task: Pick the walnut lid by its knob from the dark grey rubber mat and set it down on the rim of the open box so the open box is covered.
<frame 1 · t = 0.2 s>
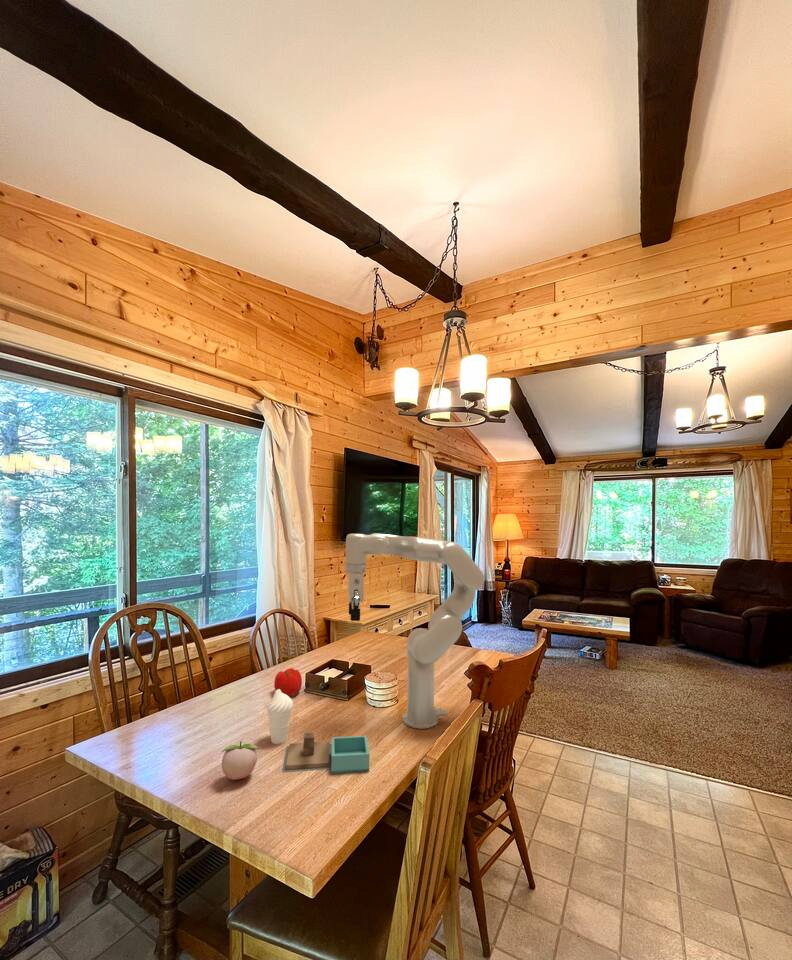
hand: (354, 617, 153), 36 cm above the table, tool pointing down, fingers open, 9 cm apart
decorative fruit: (238, 781, 117), on the table
lid: (308, 757, 129), resting on mat
open box: (349, 763, 127), on the table
tomato: (287, 694, 176), on the table
soft serve ice cream cone: (278, 742, 138), on the table
mat: (308, 758, 129), on the table
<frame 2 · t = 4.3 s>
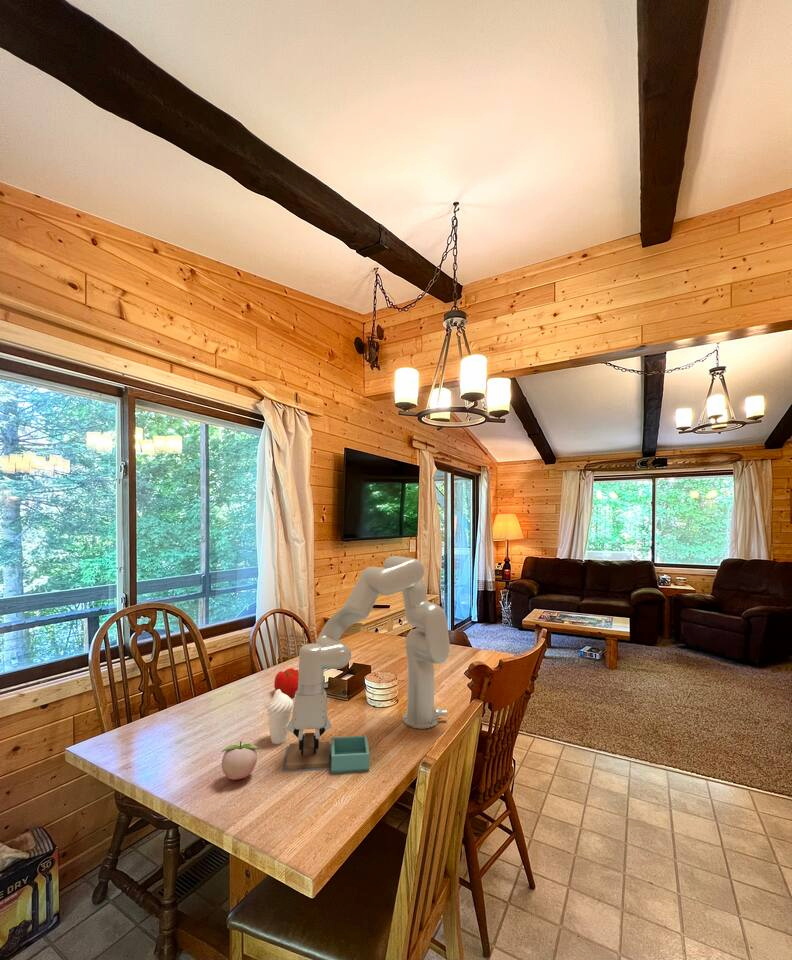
hand: (308, 751, 129), 2 cm above the table, tool pointing down, fingers closed on lid, 3 cm apart
lid: (308, 757, 129), resting on mat, touching gripper
everything else where it was.
when the fingers open (8 cm above the table, at t = 8.5 s): lid drops 2 cm, resting on open box.
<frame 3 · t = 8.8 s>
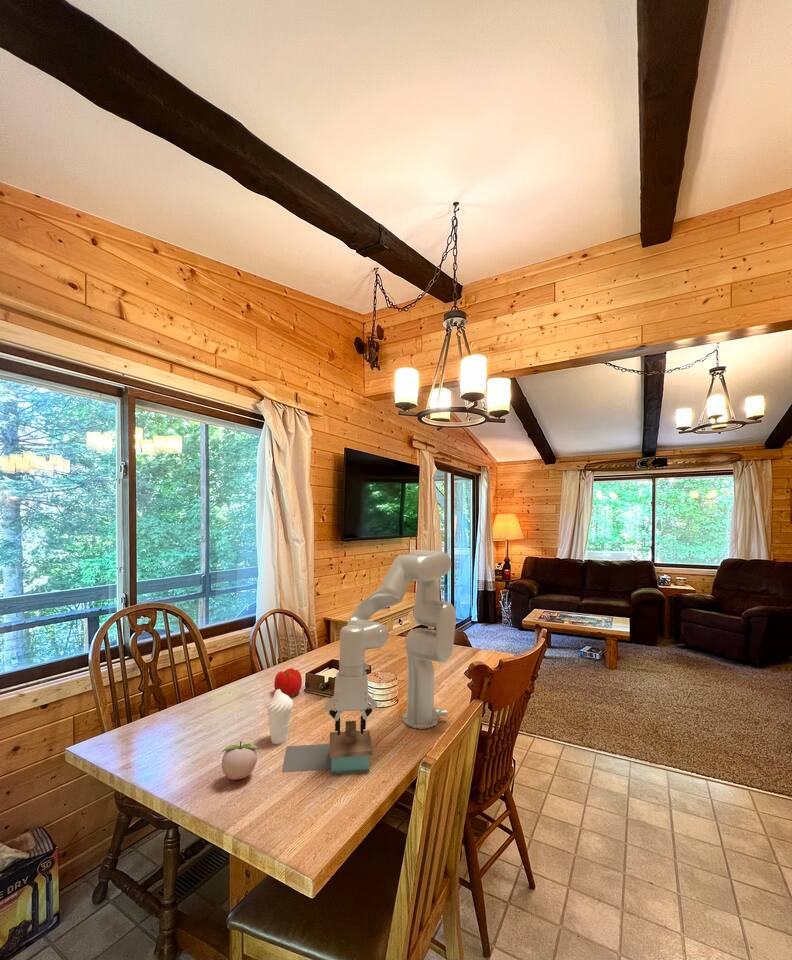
hand: (350, 731, 127), 9 cm above the table, tool pointing down, fingers open, 6 cm apart
lid: (350, 745, 127), point 5 cm above the table, touching open box
everything else where it was.
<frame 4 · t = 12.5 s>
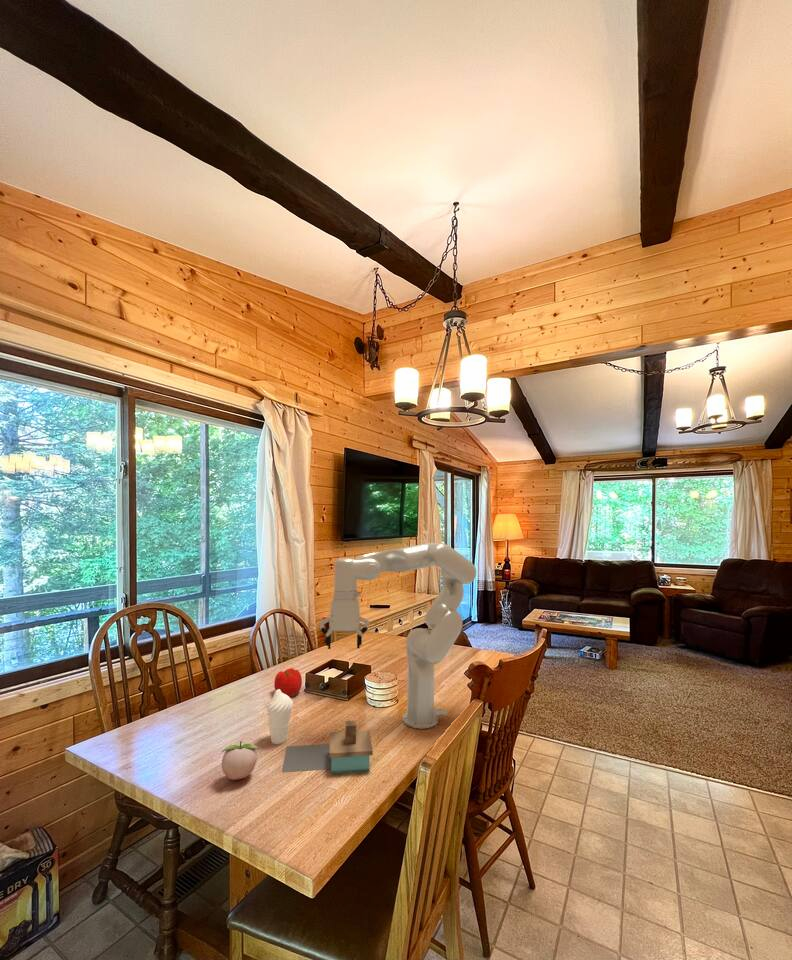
hand: (343, 647, 145), 28 cm above the table, tool pointing down, fingers open, 9 cm apart
nothing on the table moved.
at the end: lid 0.1 cm off-centre on the open box, point 5.0 cm above the open box's base; lid tilted 0°; the gripper is holding nothing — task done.
